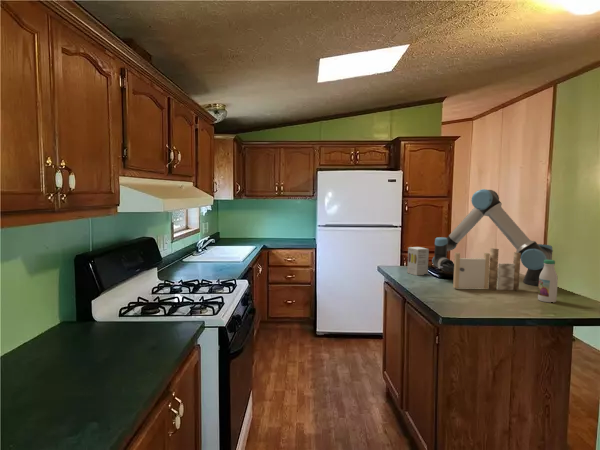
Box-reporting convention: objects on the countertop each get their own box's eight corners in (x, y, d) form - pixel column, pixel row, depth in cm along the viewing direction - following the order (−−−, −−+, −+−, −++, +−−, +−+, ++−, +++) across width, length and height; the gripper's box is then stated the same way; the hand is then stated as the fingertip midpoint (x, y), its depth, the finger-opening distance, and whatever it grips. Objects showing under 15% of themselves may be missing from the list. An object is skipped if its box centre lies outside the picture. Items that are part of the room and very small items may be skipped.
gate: (485, 287, 218) (487, 253, 217) (489, 289, 214) (491, 254, 212) (453, 287, 218) (454, 252, 216) (456, 289, 213) (457, 253, 212)
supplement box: (406, 272, 259) (407, 247, 258) (417, 271, 263) (418, 246, 262) (416, 275, 251) (417, 249, 249) (428, 274, 255) (429, 248, 253)
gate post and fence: (516, 288, 219) (518, 248, 218) (520, 290, 215) (522, 249, 214) (487, 288, 219) (489, 248, 217) (490, 290, 215) (492, 249, 213)
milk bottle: (551, 299, 198) (553, 259, 196) (559, 303, 190) (562, 261, 189) (534, 298, 199) (537, 258, 197) (542, 302, 191) (545, 261, 189)
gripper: (456, 270, 246) (473, 279, 223) (435, 270, 246) (449, 278, 222) (456, 258, 246) (473, 265, 222) (435, 258, 245) (450, 265, 222)
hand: (461, 272), depth 222 cm, fingers closed
